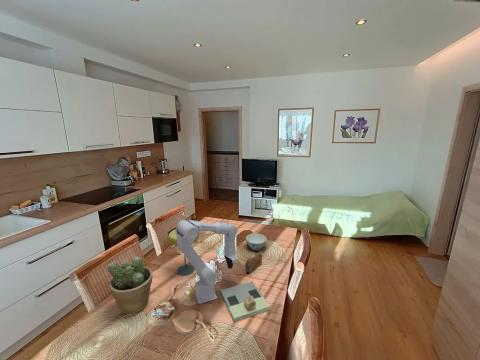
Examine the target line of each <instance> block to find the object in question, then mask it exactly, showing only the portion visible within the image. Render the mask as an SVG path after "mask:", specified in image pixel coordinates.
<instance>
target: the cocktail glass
mask: <svg viewBox="0 0 480 360" xmlns="http://www.w3.org/2000/svg"><path fill="white" fill-rule="evenodd" d="M175 230H176V227H174V228H172V229H170V230H169V231H167V236H166V237H167V238H166V239H167V242H168V243H169V244H170V245H172V246H174V247H178V245H177V235H176V232H175ZM199 238H200V234H199V235H197V237H196V239H195V240H194V242H193V244H194V243H196V242H197V241H198V240H199ZM183 256H184V264H183V265H180V266H179V267H177V269H176V274H177V275H178V276H180V277H181V276H183V277H184V276H189V275H191V274H193V273H194V272H195V271H196V270H195V267H194V266H193V265H192V264H189V263H188V264H187V260H186V259H187V258H186V256H185V255H184V254H183Z"/></svg>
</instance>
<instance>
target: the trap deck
mask: <svg viewBox="0 0 480 360" xmlns="http://www.w3.org/2000/svg"><path fill="white" fill-rule="evenodd" d="M220 294H221V297H222V299H223V301H224V303H225V306H226V307H227V309H228V312H229V314H230V317H231V318H232V321H233V323H236V322H239V321H242V320H244V319H248V318H251V317H254V316H257V315H260V314H262V313H265V312H268V311H270V310H271V306H270V304H269V303H268V301H267V300H266V298H264V296H263V294H262V293H261V292H260V289H258V287H257V286H256V284H255V283H254V281H253V280H252V281H249V282H244V283H242V284H238V285H235V286H234V285H233V286H232V287H231V286H230V287H227V288H224V289H220ZM250 296H252V297H253V298H254V300H255V301H256V309H254V310H251V311H247V309H246V308H245V306H244V298H246V297H250Z"/></svg>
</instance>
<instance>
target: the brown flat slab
mask: <svg viewBox="0 0 480 360" xmlns="http://www.w3.org/2000/svg"><path fill="white" fill-rule="evenodd" d="M262 260H263V255H262V254H261V253H259V252H255V253H254V254H253V255H251V256H249V257H248V258H247V260H246V261H245V265H244V268H245V271H246V272H248V273H249V274H252V273H253V272H254V271H255V270H257V269H258V268H259V267H260V266H261V265H262Z"/></svg>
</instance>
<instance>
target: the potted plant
mask: <svg viewBox="0 0 480 360" xmlns="http://www.w3.org/2000/svg"><path fill="white" fill-rule="evenodd" d="M143 262H144V261H143V258H142V257H140V256H136V257H135V256H134V257H133V259H132V261H131V262H130V261H128V260H124V261H122V262H121V265H119V263H117V262H116V261H112V262H110V263H109V264H108V265H107V266H106V269H107V271H108V273H110V275H111V277H110V280H109V282H108V287H109V290H110V293H111V295H112V297H113V299H114V300H115V303H116V304H117V306H118V309H120V310H121V312H122V313H123V314H124V315H127V314H133V315H135V314H134V313H136V314H138V313H139V311H140V312H141V311H143V310H144V309H145V308H146V307H147V305H148V301H149V298H150V292H151V287H152V286H151V285H152V283H153V271H152V269H151V267H148V266H145V265H144V263H143ZM137 312H138V313H137Z"/></svg>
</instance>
